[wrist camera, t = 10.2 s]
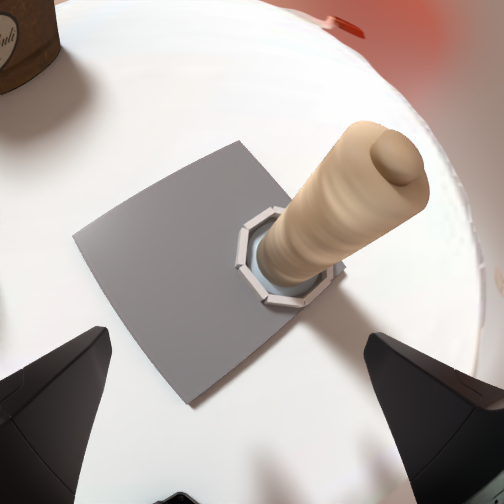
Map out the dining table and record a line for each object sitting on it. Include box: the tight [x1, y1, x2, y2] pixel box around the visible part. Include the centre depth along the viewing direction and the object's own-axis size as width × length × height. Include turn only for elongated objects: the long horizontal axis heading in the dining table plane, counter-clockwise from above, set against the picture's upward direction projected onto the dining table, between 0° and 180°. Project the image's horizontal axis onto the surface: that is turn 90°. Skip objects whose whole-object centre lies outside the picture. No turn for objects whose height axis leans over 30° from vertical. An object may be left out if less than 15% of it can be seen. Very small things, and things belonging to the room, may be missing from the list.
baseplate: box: [72, 141, 346, 405], centre depth 23 cm, size 16×18×2 cm
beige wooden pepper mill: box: [256, 121, 430, 288], centre depth 17 cm, size 5×5×15 cm
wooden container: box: [0, 0, 60, 94], centre depth 15 cm, size 15×15×22 cm
